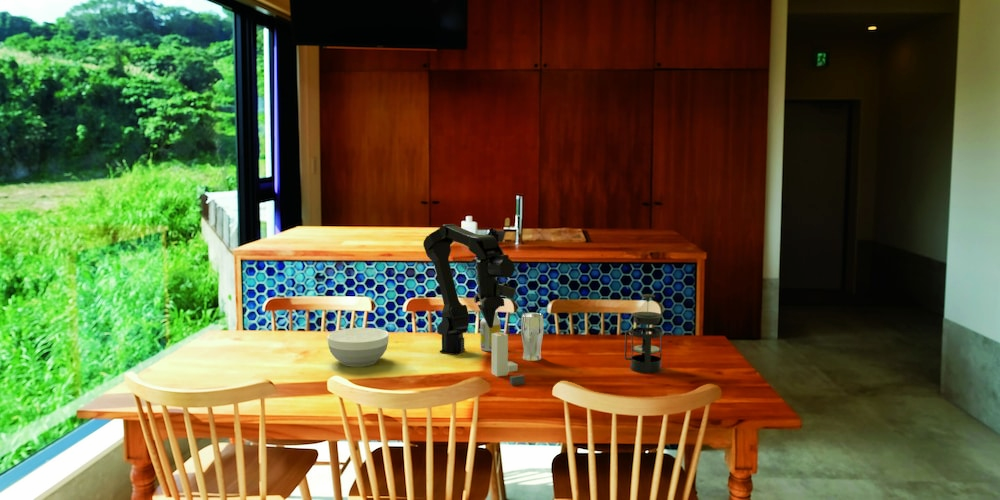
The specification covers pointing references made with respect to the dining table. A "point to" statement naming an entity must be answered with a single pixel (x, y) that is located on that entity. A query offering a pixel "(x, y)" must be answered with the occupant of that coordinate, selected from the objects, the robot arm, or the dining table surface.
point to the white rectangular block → (499, 354)
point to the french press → (645, 342)
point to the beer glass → (532, 335)
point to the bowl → (358, 345)
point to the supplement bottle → (489, 332)
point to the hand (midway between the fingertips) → (490, 327)
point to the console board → (515, 379)
